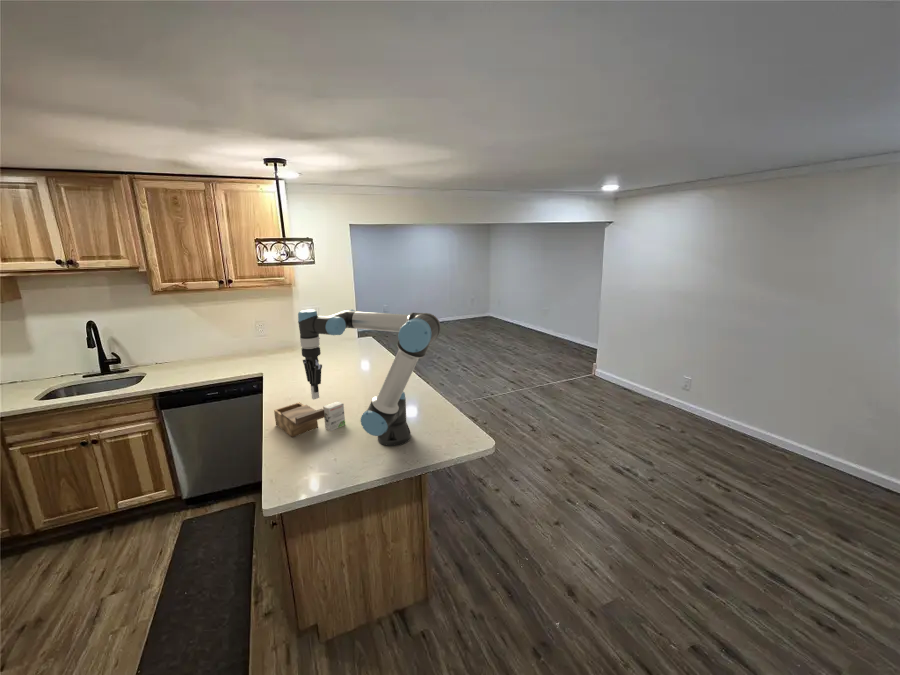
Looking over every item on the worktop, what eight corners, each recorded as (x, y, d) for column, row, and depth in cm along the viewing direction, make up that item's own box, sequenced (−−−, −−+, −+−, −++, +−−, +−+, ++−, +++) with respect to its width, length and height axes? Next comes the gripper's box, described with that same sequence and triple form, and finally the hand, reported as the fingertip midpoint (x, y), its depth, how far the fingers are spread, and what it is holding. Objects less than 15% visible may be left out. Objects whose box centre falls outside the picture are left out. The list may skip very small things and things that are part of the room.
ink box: (339, 422, 201) (338, 400, 198) (345, 425, 198) (343, 403, 195) (324, 428, 195) (322, 405, 192) (330, 431, 191) (328, 408, 188)
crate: (318, 427, 195) (316, 412, 193) (292, 437, 186) (290, 421, 184) (301, 416, 207) (299, 402, 205) (275, 425, 198) (274, 410, 196)
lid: (324, 417, 187) (324, 409, 187) (298, 426, 179) (297, 418, 178) (306, 406, 200) (305, 399, 199) (280, 414, 191) (279, 407, 190)
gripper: (326, 347, 167) (331, 399, 173) (311, 341, 176) (316, 391, 182) (309, 351, 162) (314, 405, 168) (295, 345, 171) (300, 396, 177)
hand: (315, 398), depth 175 cm, fingers closed
